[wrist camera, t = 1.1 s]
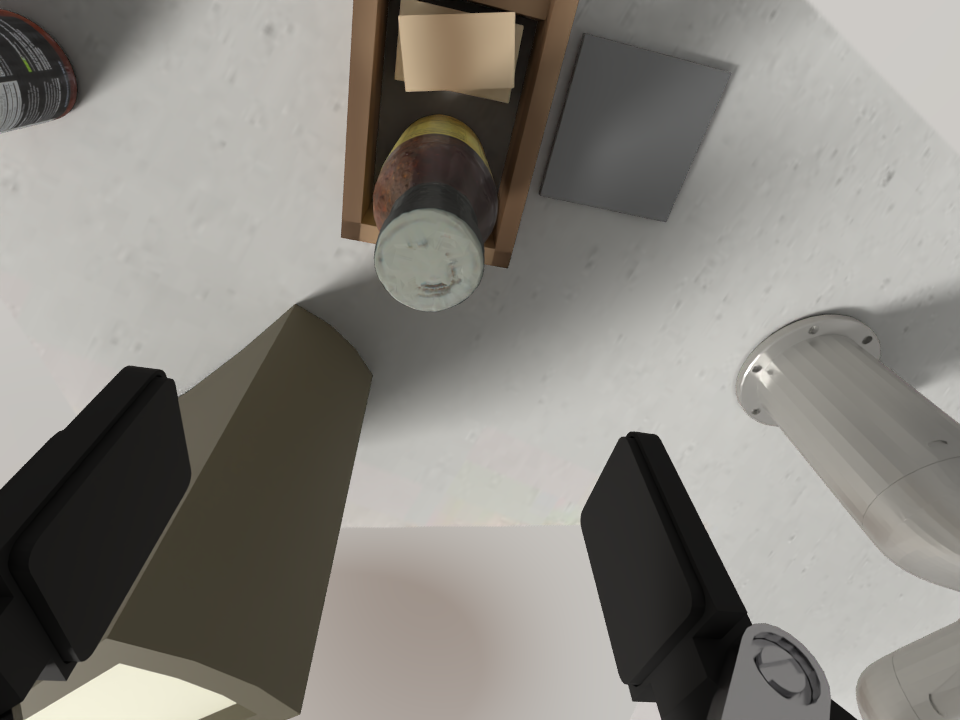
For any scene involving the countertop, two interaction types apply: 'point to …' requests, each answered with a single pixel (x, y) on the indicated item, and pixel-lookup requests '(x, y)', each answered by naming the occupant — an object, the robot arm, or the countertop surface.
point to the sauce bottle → (433, 214)
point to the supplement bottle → (32, 75)
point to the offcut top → (458, 51)
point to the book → (236, 544)
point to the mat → (630, 128)
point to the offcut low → (421, 8)
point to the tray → (555, 14)
